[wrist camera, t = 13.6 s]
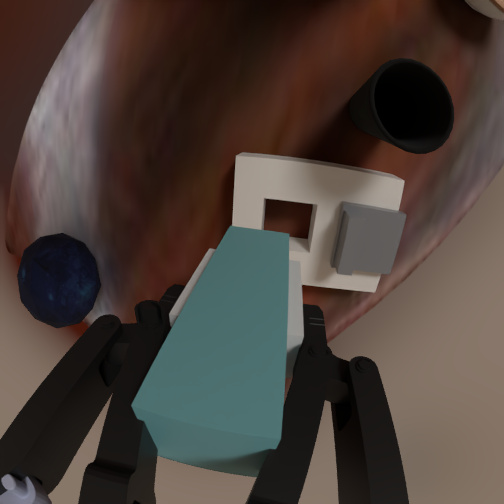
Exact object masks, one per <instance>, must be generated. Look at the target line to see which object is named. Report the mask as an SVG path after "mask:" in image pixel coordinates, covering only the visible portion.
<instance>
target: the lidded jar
mask: <svg viewBox="0 0 504 504" xmlns="http://www.w3.org/2000/svg"><path fill="white" fill-rule="evenodd" d="M465 2H466V3H467V4H468V5H469V6H470V7H472V8H473V9H474V10H476V11H478V12H480V13H482V14H483V15H485V16H487V17H490V18H492V19H496V20H504V0H465Z"/></svg>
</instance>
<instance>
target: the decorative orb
mask: <svg viewBox="0 0 504 504" xmlns="http://www.w3.org/2000/svg"><path fill="white" fill-rule="evenodd" d="M17 277H18V285H19V292H20V298H21V301H22V303H23V304H24V306H25V307H26V308H27V309H28V311H29V312H30V313H31V314H32V316H33V317H34V318H35V319H37V320H39V321H41V322H44V323H46V324H48V325H51V326H53V327H55V328H61V327H65V326H70V325H74V324H78V323H80V322H81V321H82V320H83V319H84V318H85V317H86V316H87V314H88V313H89V312H90V311H91V310H92V309H93V306H94V303H95V301H96V298H97V295H98V292H99V289H100V286H101V283H100V278H99V274H98V270H97V265H96V261H95V258H94V257H93V255H92V254H91V253H90V251H89V250H88V248H87V247H86V245H85V244H84V243H83V242H81V241H79V240H77V239H74V238H72V237H70V236H68V235H66V234H64V233H60V234H54V235H48V236H43V237H40V238H38V239H37V240H36V241H35V242H34V243H32V244H31V245H30V246H29V247H27V248H26V249H25V250H24V253H23V256H22V260H21V263H20V267H19V270H18V274H17Z"/></svg>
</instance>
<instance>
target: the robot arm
mask: <svg viewBox="0 0 504 504" xmlns="http://www.w3.org/2000/svg"><path fill="white" fill-rule="evenodd" d="M215 251H216V249H209V250H208V252H207V253H206V255H205V256H204V258H203V260H202V261H201V263H200V264H199V266H198V268H197V269H196V271H195V272H194V274H193V276H192V277H191V279H190V280H189V282H188V284H187V285H186V286H181V285H176V284H175V285H173V286H171V287H170V288H168V289H167V291H166V292H165V294H164V296H162V298H161V300H160V301H159V302H157V301H153V300H146V301H142V302H140V303H138V304H137V305H136V306H135V308H134V309H135V315H136V320H137V323H134V324H121V322H120V319H119V318H118V317H117V316H115V315H110V314H109V315H103V316H100V317H99V318H98V319H96V320H95V321H94V322H93V324H92V325H91V326H90V327H89V328H88V329H87V330H86V331H85V333H84V334H83V335H82V336H81V337H80V338H79V339H78V340H77V342H76V343H75V344H74V345H73V346H72V347H71V348H70V350H69V351H68V352H67V353H66V354H65V356H64V357H63V358H62V359H61V360H60V362H59V363H58V364H57V365H56V366H55V367H54V369H53V370H52V371H51V372H50V374H49V375H48V376H47V377H46V379H45V380H44V381H43V382H42V383H41V385H40V386H39V387H38V389H37V390H36V391H35V393H34V394H33V395H32V397H31V398H30V399H29V400H28V402H27V403H26V404H25V406H24V407H23V408H22V410H21V411H20V412H19V414H18V415H17V417H16V418H15V419H14V421H13V422H12V424H11V425H10V426H9V428H8V429H7V431H6V432H5V434H4V435H3V437H2V438H1V439H0V504H52V502H51V500H50V499H49V497H48V494H49V493H51V492H52V491H53V490H54V488H55V487H56V486H57V485H58V484H59V482H60V481H61V479H62V478H63V476H64V474H65V472H66V470H67V469H68V467H69V465H70V463H71V461H72V460H73V458H74V456H75V454H76V453H77V451H78V449H79V448H80V446H81V444H82V442H83V441H84V439H85V437H86V436H87V434H88V432H89V431H90V429H91V427H92V425H93V424H94V422H95V421H96V419H97V417H98V416H99V414H100V412H101V411H102V409H103V407H104V406H105V404H106V403H107V401H108V399H109V398H110V396H111V395H112V398H111V401H110V404H109V408H108V411H107V415H106V419H105V422H104V426H103V430H102V434H101V438H100V442H99V446H98V450H97V455H96V458H95V460H94V462H92V463H90V464H88V466H87V467H86V469H85V472H84V476H83V481H82V486H81V491H80V497H79V503H78V504H156V498H155V493H154V483H155V473H156V463H157V454H158V449H157V447H156V445H155V443H154V441H153V439H152V437H151V435H150V433H149V431H148V429H147V426H146V424H145V422H144V421H142V420H140V419H137V417H136V415H135V413H134V410H133V408H132V406H131V405H132V403H133V401H134V399H135V397H136V395H137V393H138V391H139V389H140V387H141V385H142V383H143V381H144V380H145V378H146V376H147V374H148V372H149V370H150V368H151V366H152V364H153V362H154V360H155V358H156V357H157V355H158V353H159V351H160V349H161V347H162V345H163V343H164V342H165V340H166V338H167V336H168V334H169V332H170V331H171V329H172V327H173V325H174V323H175V321H176V320H177V318H178V316H179V314H180V312H181V310H182V309H183V307H184V305H185V303H186V301H187V300H188V298H189V296H190V294H191V293H192V291H193V289H194V287H195V285H196V284H197V282H198V280H199V278H200V277H201V275H202V273H203V271H204V270H205V268H206V266H207V264H208V263H209V261H210V259H211V258H212V256H213V254H214V252H215ZM324 325H325V324H324V316H323V312H322V310H321V309H320V307H319V306H316V305H308V304H303V302H302V283H301V266H300V261H293V260H289V294H288V327H287V352H286V372H285V378H291V376H292V373H293V379H292V382H291V385H290V388H289V391H288V394H287V397H286V401H285V404H284V406H283V419H282V431H281V440H280V442H279V444H278V446H277V448H276V449H269V451H268V453H267V456H266V458H265V460H264V462H263V465H262V467H261V469H260V471H259V473H258V476H257V479H256V481H255V483H254V485H253V488H252V490H251V493H250V495H249V497H248V499H247V502H246V504H298V502H299V498H300V495H301V492H302V489H303V486H304V482H305V479H306V476H307V472H308V469H309V465H310V461H311V457H312V454H313V450H314V446H315V442H316V438H317V434H318V429H319V425H320V420H321V416H322V411H323V406H324V401H325V400H327V401H329V402H331V411H332V420H333V429H334V440H335V451H336V464H337V479H338V497H339V504H409V500H408V494H407V488H406V481H405V476H404V471H403V465H402V460H401V455H400V451H399V446H398V442H397V438H396V433H395V429H394V425H393V421H392V417H391V413H390V409H389V405H388V402H387V398H386V395H385V391H384V388H383V384H382V381H381V378H380V374H379V371H378V367H377V366H376V364H375V362H373V361H372V360H371V359H369V358H367V357H363V356H358V357H355V358H353V359H351V361H350V362H349V361H346V360H343V359H340V358H338V357H336V356H335V355H333V354H332V351H331V349H330V348H329V347H328V346H327V339H326V331H325V326H324ZM112 393H113V394H112Z"/></svg>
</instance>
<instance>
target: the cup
mask: <svg viewBox="0 0 504 504" xmlns="http://www.w3.org/2000/svg"><path fill="white" fill-rule="evenodd" d="M349 114H350V117H351V119H352V121H353V123H354V124H355V125H356V126H357V128H359V129H360V130H361V131H363V132H365V133H368V134H370V135H372V136H375V137H377V138H379V139H381V140H383V141H386V142H388V143H390V144H392V145H394V146H396V147H398V148H400V149H402V150H404V151H407V152H411V153H415V154H426V153H429V152H432V151H435V150H436V149H438V148H439V147H441V146H442V145H443V144H444V143H445V141H446V140H447V139H448V138H449V135H450V133H451V131H452V128H453V122H454V107H453V103H452V99H451V96H450V94H449V91H448V89H447V87H446V85H445V84H444V83H443V81H442V80H441V78H440V77H439V76H438V75H437V74H436V73H435V72H434V71H433V70H432V69H431V68H429V67H427V66H426V65H424V64H423V63H421V62H418V61H415V60H412V59H404V58H399V59H394V60H390V61H388V62H386V63H385V64H383V65H381V66H380V68H379V69H378V70H377V71H376V72H375V73H374V74H373V75H372V76H371V77H370V78H369V79H368V80H367V81H366V82H365V84H364V85H363V86H362V87H361V88H360V89H359V90H358V91H357V92H356V93H355V94H354V95H353V97H352V98H351V100H350V104H349Z"/></svg>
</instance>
